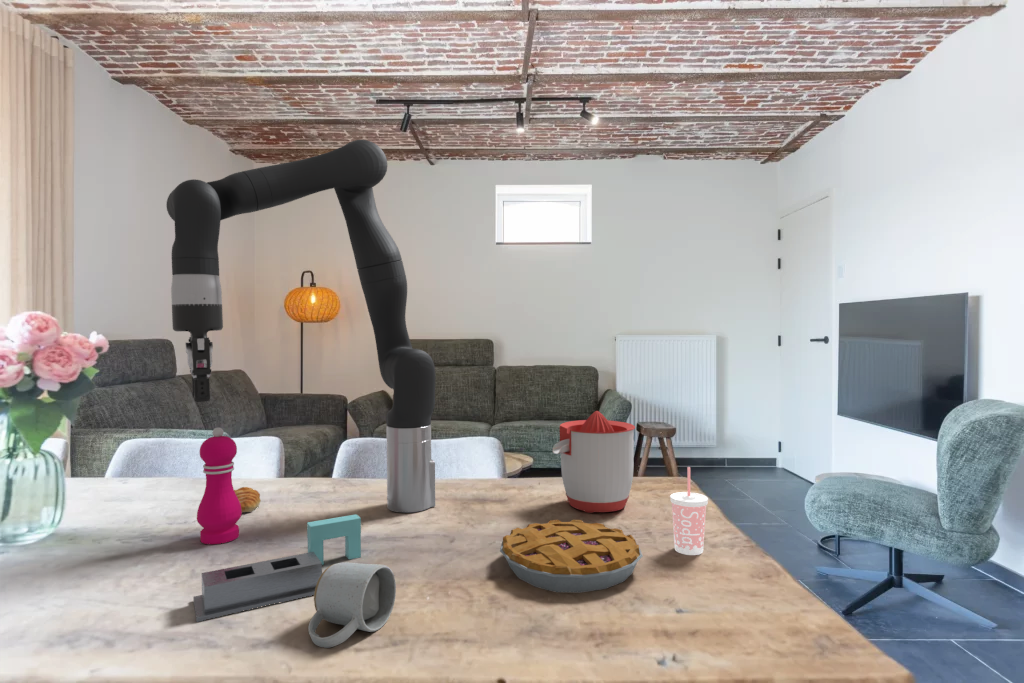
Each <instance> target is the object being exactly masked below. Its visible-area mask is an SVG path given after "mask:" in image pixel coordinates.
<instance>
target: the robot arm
mask: <svg viewBox="0 0 1024 683" xmlns="http://www.w3.org/2000/svg"><path fill="white" fill-rule="evenodd" d="M387 171H388V159H387V156H386V154H385V152H384V150H383V149H382V148H381V147H380V146H379V145H378V144H376V143H375V142H373V141H371V140H367V139H355V140H352V141H350V142H348V143H346V144H344V145H342V146H340V147H338V148H336V149H333V150H331V151H328V152H325V153H322V154H317V155H315V156H312V157H308V158H304V159H297V160H294V161H288V162H283V163H278V164H273V165H267V166H263V167H261V166H260V167H258V168H253V169H246V170H242V171H238V172H234V173H232V174H228V175H226V176H225V177H223V178H221V179H217V180H212V181H208V182H206V181H203V180H201V179H187V180H184V181H182V182H180V184H178V185H177V186H176V187H175V188H174V189H173V190H172V191H171V192H170V193H169V194H168V196H167V200H166V205H165V206H166V211H167V214H168V216H169V218H170V219H171V220H173V221H174V240H173V244H172V247H171V273H172V274H171V276H172V278H171V288H170V293H171V295H170V296H171V318H172V320H171V321H172V323H171V324H172V330H173V331H174V332H188V333H190V336H189V337H188V342H185V353H186V355H187V357H186V358H187V365H188V367H189V373H190V375H191V383H192V396H193V397H194V401H195V402H197V403H204V402H209V401H210V400H211V390H210V378H211V376H212V369H211V367H212V366H213V355H212V354H213V352H214V348H213V347H214V346H213V342H212V341H211V340H210V337H208V332H211V331H212V332H213V331H214V332H215V331H222V330H223V327H224V321H223V320H224V318H223V315H224V314H223V296H222V294H223V293H222V284H221V279H220V260H219V259H220V258H219V252H218V250H219V247H218V246H219V238H220V230H221V221H223V220H226V219H229V218H232V217H234V216H238V215H244V214H249V213H254V212H260V211H262V210H266V209H271V208H273V207H278V206H281V205H285V204H287V203H291V202H293V201H296V200H299V199H302V198H305V197H308V196H310V195H313V194H317V193H319V192H324V191H327V190H332V189H334V192H335V194H336V197H337V199H338V200H337V201H338V203H339V206H340V207H341V208H340V209H341V212H342V213H343V217H344V221H345V224H346V227H347V233H348V236H349V240H350V244H351V249H352V253H353V256H354V260H355V261H354V262H355V266H356V269H357V273H358V277H359V281H360V285H361V289H362V293H363V296H364V299H365V304H366V307H367V312H368V315H369V319H370V322H371V326H372V330H373V334H374V339H375V340H374V341H375V345H376V351H377V359H378V367H379V372H380V375H381V378H382V380H383V382H384V383H385V385H386V386H387V387H389V388H390V389H392V390H393V403H392V407H391V409H390V410H388V411H387V413H386V430H385V431H386V486H387V487H386V492H387V493H386V494H387V496H386V502H387V505H386V506H387V509H388V510H389V511H392V512H396V513H416V512H422V511H425V510H428V509H429V508H433V507H436V462H435V460H434V459H432V416H433V413H434V409H435V403H436V368H435V363H434V360H433V358H432V356H431V355H430V354H428V352H426V351H425V350H422V349H418V348H413V345H412V342H411V339H410V335H409V332H408V328H407V322H406V313H407V312H406V311H407V299H408V282H407V281H408V279H407V275H406V271H405V268H404V267H405V266H404V263H403V262H404V261H403V260H402V255H401V252H400V250H399V247H398V246H397V243H396V241H395V240H394V238H393V236H392V235H391V234H390V232H389V231H388V229H387V228H386V226H385V225H384V222H383V221H382V219H381V217H380V214H379V211H378V208H377V204H376V200H375V199H376V198H375V195H374V190H373V187H375V186H377V185H378V184H380V182H381V181H383V179H384V178H385V177H386V175H387V174H386V173H387Z"/></svg>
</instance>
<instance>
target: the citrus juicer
mask: <svg viewBox="0 0 1024 683" xmlns="http://www.w3.org/2000/svg"><path fill="white" fill-rule="evenodd" d="M635 429H636V426H635V425H633V424H632V423H630V422H623V421H617V420H608V419H607V417H605V415H604V414H602V413H601V412H600V411H599V410H596V411H594V412H593V413H591V415H589V417H587V419H580V420H571V421H566V422H563V423H560V425H559V441H557V442H556V443H555V444H553V446H552V453H553V454H554V455H559V454H560V467H561V468H560V470H561V478H562V484H563V487H564V491H565V496H566V498H567V501H568V504H569V505H570V506H571V507H572V508H575V509H576V510H579V511H583V512H584V513H586V514H587V513H588V514H592V513H609V512H617V511H621V510H623V509H624V508H625V507H626V504H627V503H628V500H629V498H630V493H631V489H632V485H633V479H634V466H635V465H634V464H635V463H634V449H635V448H634V444H635V443H634V442H635V441H634V433H635V432H634V430H635Z"/></svg>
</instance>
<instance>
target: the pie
mask: <svg viewBox="0 0 1024 683" xmlns="http://www.w3.org/2000/svg"><path fill="white" fill-rule="evenodd" d="M499 552H500V553H501V555H502V556H503V557H504V559H506V562H507V563H508V566H509V568H510V569H511V571H512V572H513V573H514V575H515V576H516V577H517V579H520V580H521V581H523V582H525V583H528V585H531V586H533V587H534V588H539V589H542V590H545V591H550V592H554V593H575V594H576V593H585V592H593V591H600V590H605V589H609V588H611V587H613V586H616V585H619V584H622V583H623V582H625V581H626V580H627V579H628V578H629V577H631V575H632V574H633V573H634V570H635V568H636V565H637V564H638V562H639V560H641V559H642V558H643V553H642V550H641V548H640V545H639V544H638V543H637V540H636V539H635V538H634V536H633V535H632V534H628V535H626V534H624V531H623V530H622V529H620V528H609V527H606V526H605V524H604V523H598V522H594V523H593V522H592V523H588V522H584V521H583V520H582V519H571V520H570V521H561V520H559V519H551V520H549V521H548V522H546V523H536V522H535V523H529V524H527V525H526V527H524V528H520V527H516V528H513V529H511V530H510V534H506V535H504V536H503V537H502V541H501V545H500V549H499Z"/></svg>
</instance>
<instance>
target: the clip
mask: <svg viewBox="0 0 1024 683" xmlns="http://www.w3.org/2000/svg"><path fill="white" fill-rule="evenodd" d="M361 534H362V518H361V517H360V516H359V515H358V513H357V514H351V515H345V516H344V515H343V516H339V517H338V516H337V517H333V518H327V519H320V520H315V521H313V520H312V521H310V522H309V521H308V522H307V523H306V536H307V537H306V538H307V553H309V552H314V553H315V554H316V556H317V557H318V559H319V560H320V561H321V563H322V566H324V564H325V561H324V559H325V558H324V541H326V540H331V539H337V538H344V543H345V544H344V546H345V547H344V549H345V551H344V553H345V554H344V555H345V557H346V558H347V559H348V560H353V559H358V558H362V545H361V544H362V539H361V538H362V535H361Z"/></svg>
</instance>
